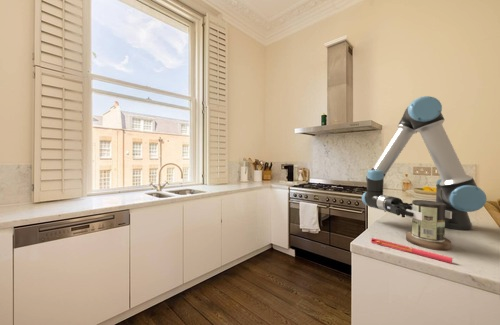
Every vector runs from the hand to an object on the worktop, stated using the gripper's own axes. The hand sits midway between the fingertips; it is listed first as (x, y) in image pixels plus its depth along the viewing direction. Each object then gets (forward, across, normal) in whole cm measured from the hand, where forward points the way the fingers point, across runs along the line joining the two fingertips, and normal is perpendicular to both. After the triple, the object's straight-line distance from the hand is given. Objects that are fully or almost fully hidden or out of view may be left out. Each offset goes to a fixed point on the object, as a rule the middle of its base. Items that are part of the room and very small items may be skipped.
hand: (437, 216), depth 84 cm
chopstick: (+2, +15, -12) cm, 19 cm away
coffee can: (-3, 0, -10) cm, 10 cm away
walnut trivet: (-3, 0, -12) cm, 12 cm away
